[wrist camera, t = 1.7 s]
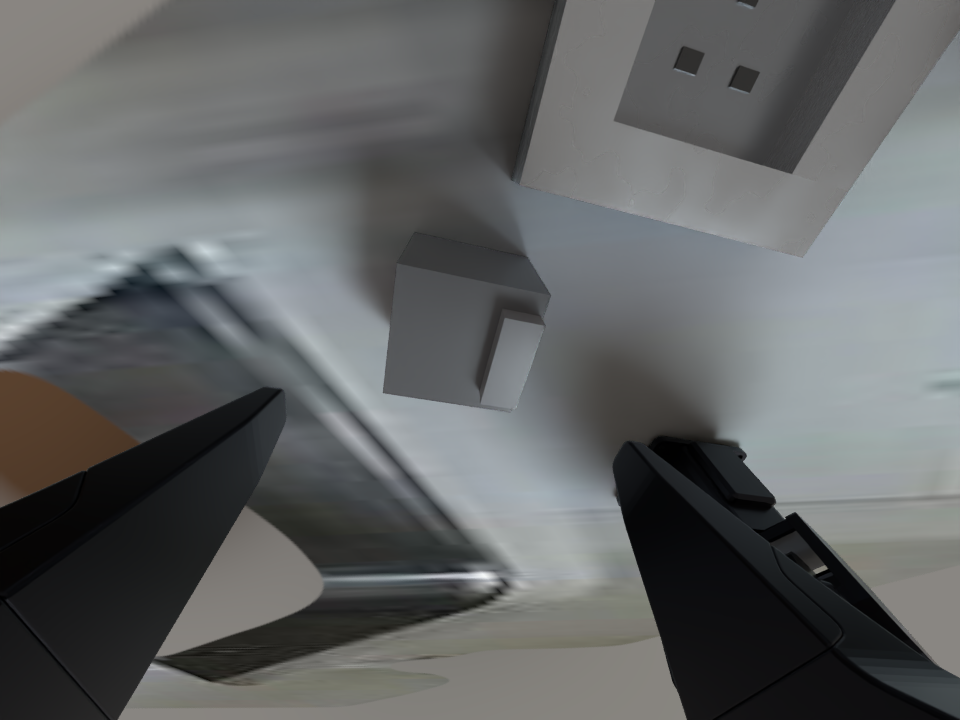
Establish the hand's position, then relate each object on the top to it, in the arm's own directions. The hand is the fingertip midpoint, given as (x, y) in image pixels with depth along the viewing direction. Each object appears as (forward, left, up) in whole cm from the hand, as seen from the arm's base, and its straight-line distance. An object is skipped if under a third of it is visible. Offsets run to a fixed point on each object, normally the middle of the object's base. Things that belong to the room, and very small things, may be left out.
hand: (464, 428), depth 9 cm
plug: (0, 0, -9) cm, 9 cm away
